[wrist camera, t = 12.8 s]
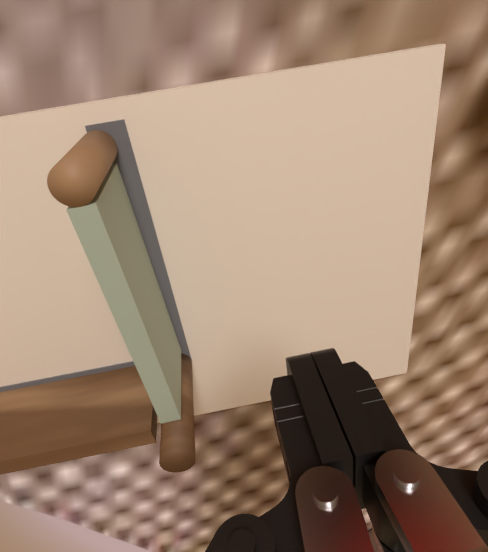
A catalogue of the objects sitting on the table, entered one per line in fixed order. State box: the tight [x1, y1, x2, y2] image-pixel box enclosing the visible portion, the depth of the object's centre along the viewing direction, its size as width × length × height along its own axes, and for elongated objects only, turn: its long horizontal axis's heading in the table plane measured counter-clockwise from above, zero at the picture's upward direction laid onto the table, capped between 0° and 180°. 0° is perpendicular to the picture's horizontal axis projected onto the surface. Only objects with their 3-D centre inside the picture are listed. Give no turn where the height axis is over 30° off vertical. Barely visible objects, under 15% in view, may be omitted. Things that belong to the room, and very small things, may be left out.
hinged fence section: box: [47, 130, 181, 424], centre depth 21 cm, size 2×15×6 cm, turn 10°
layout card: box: [0, 44, 446, 423], centre depth 26 cm, size 24×34×1 cm
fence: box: [0, 354, 195, 474], centre depth 26 cm, size 2×16×8 cm, turn 98°
